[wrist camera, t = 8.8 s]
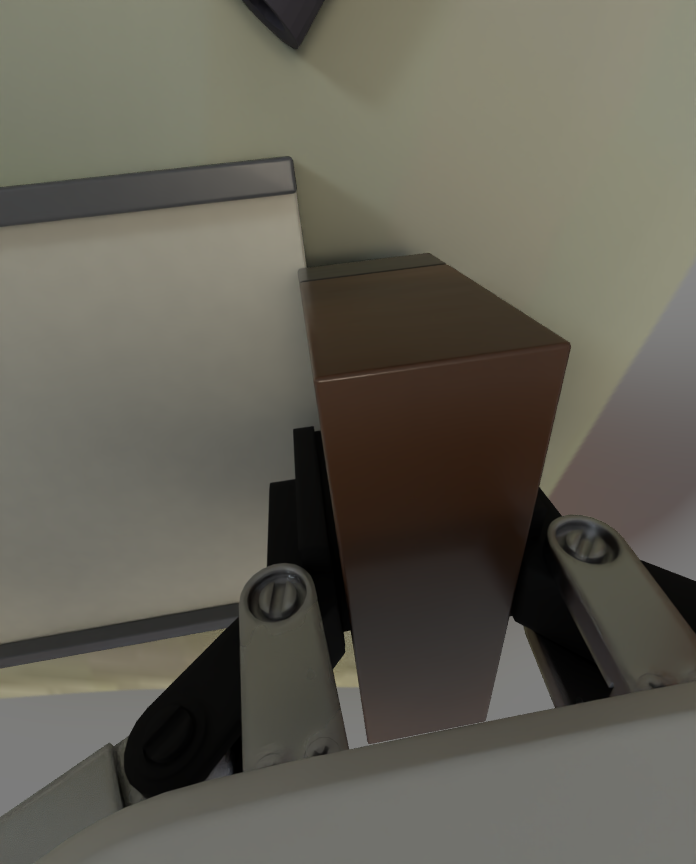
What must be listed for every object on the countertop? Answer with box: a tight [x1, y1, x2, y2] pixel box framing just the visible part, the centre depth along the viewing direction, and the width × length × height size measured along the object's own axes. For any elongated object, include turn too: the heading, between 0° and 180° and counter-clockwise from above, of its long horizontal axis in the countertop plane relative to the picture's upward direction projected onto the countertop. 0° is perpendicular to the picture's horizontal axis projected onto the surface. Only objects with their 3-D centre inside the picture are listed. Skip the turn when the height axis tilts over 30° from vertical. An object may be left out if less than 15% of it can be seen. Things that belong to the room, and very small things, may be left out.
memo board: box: [0, 156, 321, 668], centre depth 12 cm, size 17×14×2 cm
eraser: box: [298, 253, 571, 744], centre depth 10 cm, size 3×10×6 cm, turn 5°
